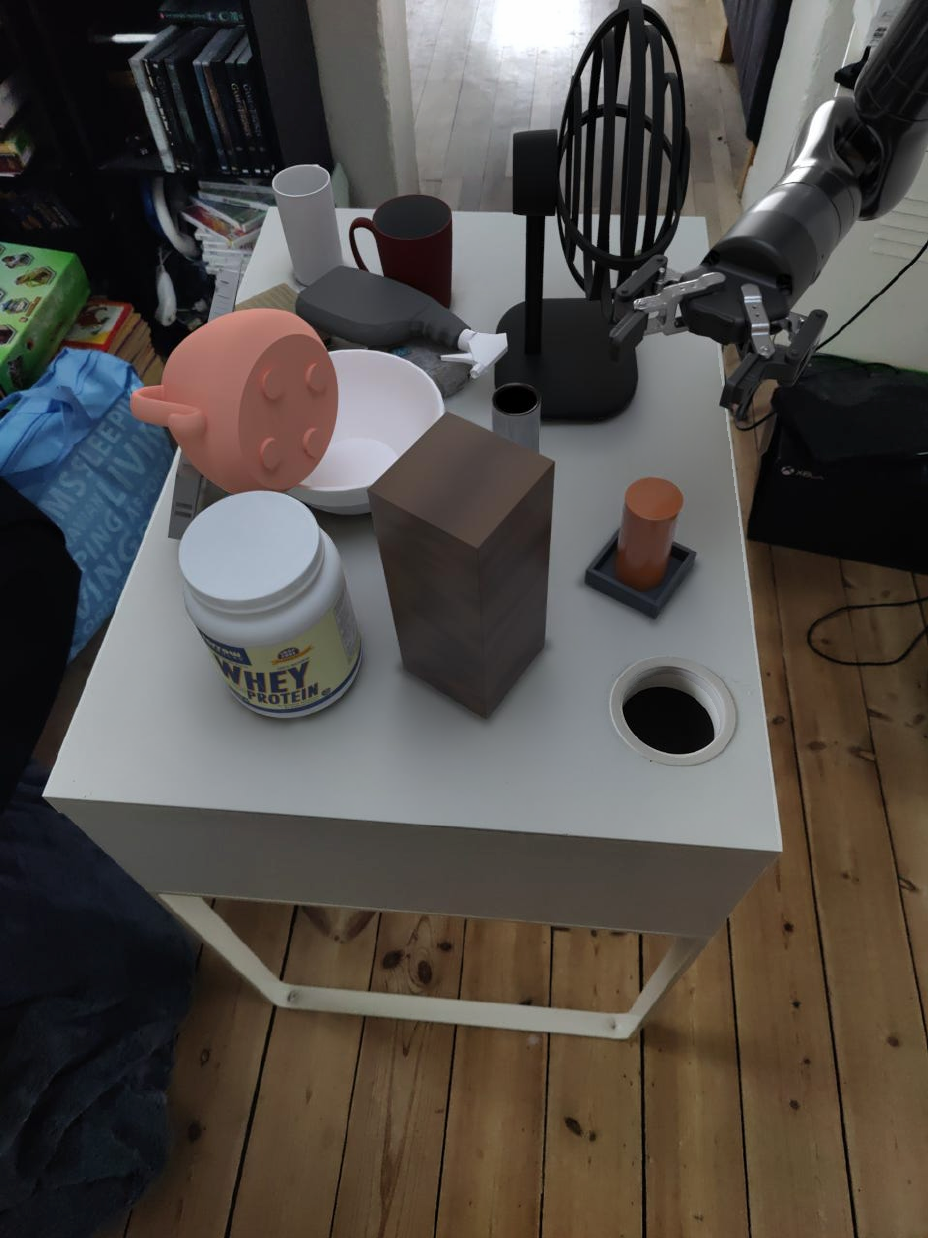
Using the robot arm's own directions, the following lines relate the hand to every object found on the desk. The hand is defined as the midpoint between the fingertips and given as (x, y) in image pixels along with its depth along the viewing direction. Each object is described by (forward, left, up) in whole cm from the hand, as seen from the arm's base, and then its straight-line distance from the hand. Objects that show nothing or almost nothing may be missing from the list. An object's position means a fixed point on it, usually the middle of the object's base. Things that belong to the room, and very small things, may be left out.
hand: (669, 375), depth 59 cm
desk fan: (+21, -24, -25) cm, 40 cm away
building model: (+42, +9, -17) cm, 46 cm away
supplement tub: (+20, +24, -25) cm, 40 cm away
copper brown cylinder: (0, -2, -24) cm, 24 cm away
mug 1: (+57, -23, -25) cm, 67 cm away
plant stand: (+7, +14, -25) cm, 29 cm away
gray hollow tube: (+16, -6, -25) cm, 30 cm away
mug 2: (+43, -23, -25) cm, 55 cm away
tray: (0, -2, -25) cm, 25 cm away
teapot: (+26, +10, -9) cm, 30 cm away
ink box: (+50, -13, -23) cm, 57 cm away
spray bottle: (+49, -13, -20) cm, 55 cm away
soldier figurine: (+23, -41, -22) cm, 51 cm away
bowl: (+30, +3, -25) cm, 39 cm away
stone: (+39, -13, -23) cm, 47 cm away
